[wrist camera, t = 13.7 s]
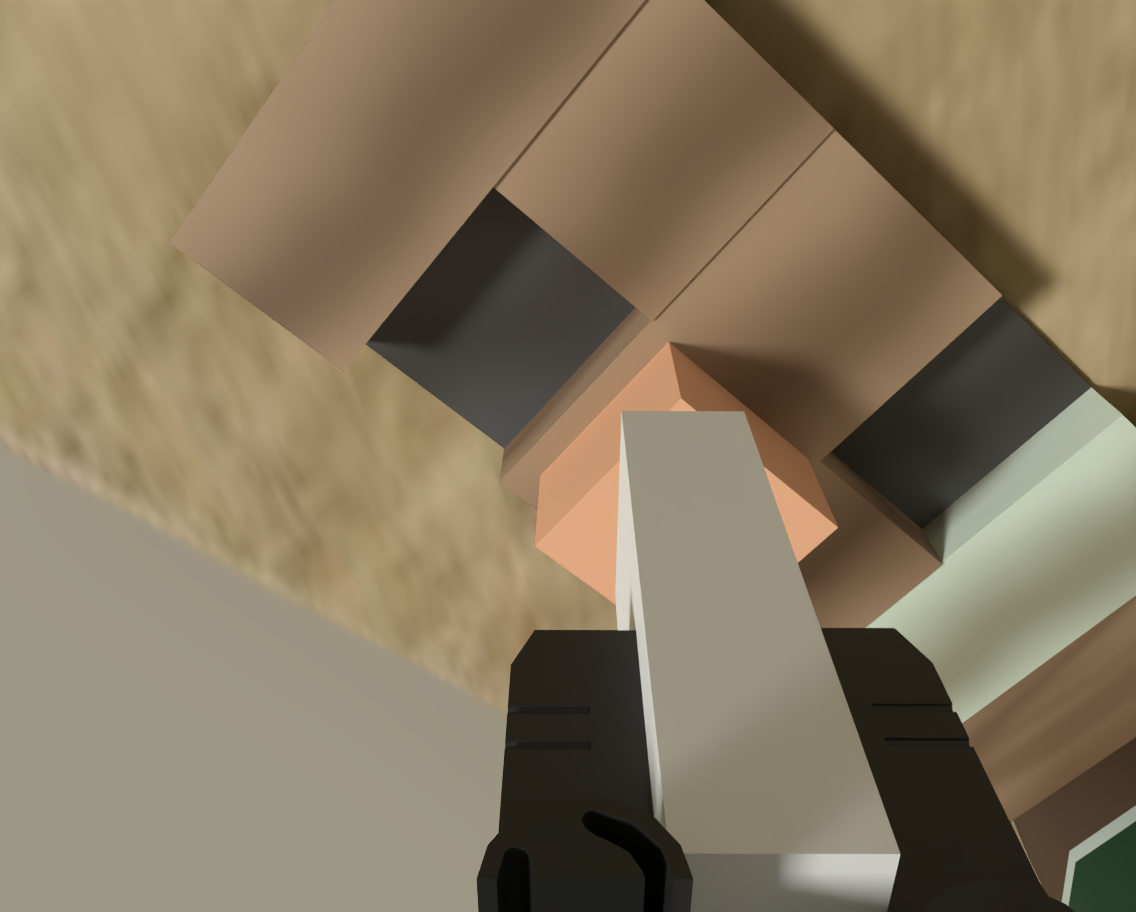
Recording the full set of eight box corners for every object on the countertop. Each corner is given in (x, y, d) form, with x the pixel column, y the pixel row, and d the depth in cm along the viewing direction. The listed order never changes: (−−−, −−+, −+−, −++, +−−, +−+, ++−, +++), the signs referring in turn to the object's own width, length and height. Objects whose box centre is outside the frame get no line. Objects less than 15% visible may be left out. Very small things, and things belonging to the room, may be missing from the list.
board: (203, 217, 26) (124, 275, 22) (493, -203, 22) (470, -240, 17) (899, 742, 34) (947, 864, 29) (1213, 507, 30) (1325, 608, 25)
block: (540, 475, 27) (534, 546, 24) (668, 341, 25) (681, 398, 22) (677, 578, 28) (689, 657, 25) (808, 458, 26) (838, 527, 23)
